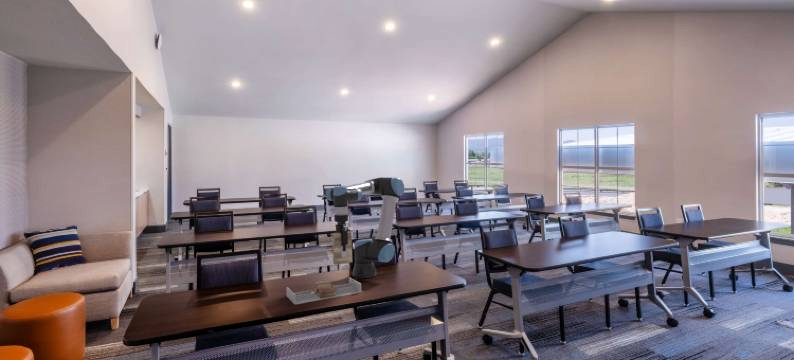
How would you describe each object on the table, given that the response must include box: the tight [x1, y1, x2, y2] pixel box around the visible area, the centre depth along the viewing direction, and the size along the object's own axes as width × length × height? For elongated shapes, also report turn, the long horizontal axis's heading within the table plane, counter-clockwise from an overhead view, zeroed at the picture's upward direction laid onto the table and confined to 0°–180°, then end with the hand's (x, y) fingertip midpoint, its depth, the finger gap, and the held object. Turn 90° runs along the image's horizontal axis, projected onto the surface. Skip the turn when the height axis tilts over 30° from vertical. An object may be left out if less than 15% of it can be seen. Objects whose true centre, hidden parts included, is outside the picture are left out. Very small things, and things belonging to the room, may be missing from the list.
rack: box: [286, 276, 362, 305], centre depth 235 cm, size 16×37×6 cm, turn 118°
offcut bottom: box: [313, 288, 335, 298], centre depth 235 cm, size 12×8×2 cm, turn 28°
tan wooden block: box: [331, 230, 353, 265], centre depth 240 cm, size 4×10×17 cm, turn 118°
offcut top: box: [315, 280, 332, 290], centre depth 235 cm, size 9×6×2 cm
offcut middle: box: [314, 285, 336, 295], centre depth 235 cm, size 11×7×2 cm
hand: (342, 255), depth 240 cm, fingers closed on tan wooden block, 3 cm apart
